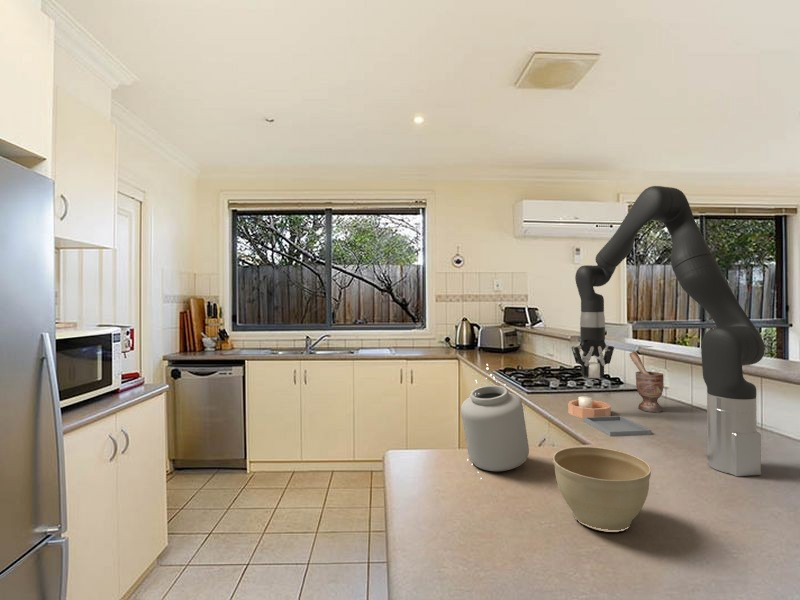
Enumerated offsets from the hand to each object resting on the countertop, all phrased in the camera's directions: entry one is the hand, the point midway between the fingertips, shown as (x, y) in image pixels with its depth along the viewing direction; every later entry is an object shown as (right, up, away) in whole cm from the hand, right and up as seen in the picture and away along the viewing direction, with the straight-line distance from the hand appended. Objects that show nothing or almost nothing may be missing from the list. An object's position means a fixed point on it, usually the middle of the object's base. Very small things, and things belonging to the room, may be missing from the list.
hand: (592, 376), depth 144 cm
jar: (-42, -15, -39) cm, 59 cm away
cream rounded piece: (0, 0, 0) cm, 0 cm away
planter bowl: (-28, -15, -65) cm, 72 cm away
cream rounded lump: (0, -13, +5) cm, 14 cm away
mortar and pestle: (+23, -14, +11) cm, 29 cm away
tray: (+1, -14, -13) cm, 19 cm away
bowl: (0, -14, +3) cm, 14 cm away
